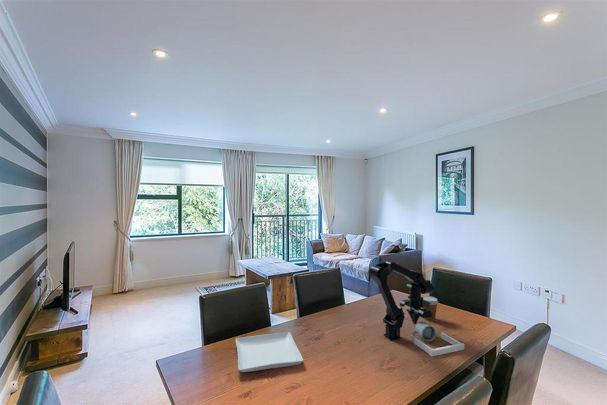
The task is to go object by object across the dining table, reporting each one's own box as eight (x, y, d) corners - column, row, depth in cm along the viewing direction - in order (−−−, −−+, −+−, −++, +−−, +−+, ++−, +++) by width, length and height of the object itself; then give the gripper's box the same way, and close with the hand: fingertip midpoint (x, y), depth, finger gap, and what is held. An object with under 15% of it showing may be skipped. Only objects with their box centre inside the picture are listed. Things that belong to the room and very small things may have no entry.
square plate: (238, 379, 117) (238, 369, 117) (235, 345, 143) (235, 337, 143) (304, 368, 124) (304, 359, 124) (289, 338, 150) (289, 330, 150)
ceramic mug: (427, 333, 155) (426, 318, 154) (436, 340, 146) (436, 325, 146) (408, 335, 153) (408, 320, 153) (416, 343, 145) (416, 327, 145)
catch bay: (431, 356, 132) (431, 351, 132) (412, 343, 144) (412, 338, 144) (464, 349, 138) (464, 344, 138) (443, 337, 150) (443, 332, 150)
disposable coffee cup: (435, 323, 166) (435, 302, 166) (418, 319, 172) (418, 299, 172) (439, 318, 174) (439, 298, 173) (422, 314, 179) (423, 294, 179)
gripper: (440, 299, 150) (440, 329, 150) (415, 288, 168) (415, 315, 168) (423, 301, 146) (423, 332, 147) (399, 290, 164) (398, 318, 164)
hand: (415, 324), depth 156 cm, fingers closed
